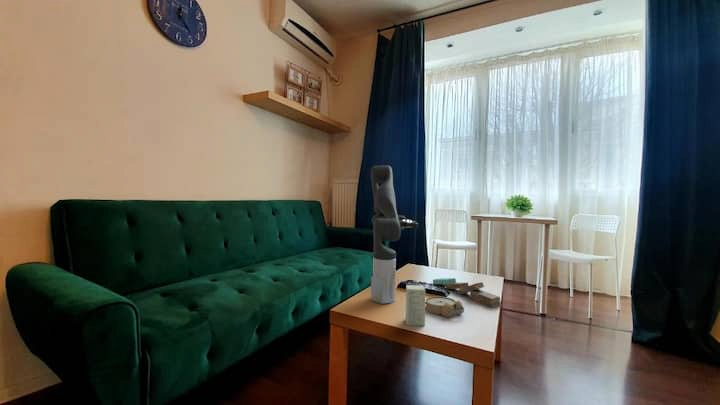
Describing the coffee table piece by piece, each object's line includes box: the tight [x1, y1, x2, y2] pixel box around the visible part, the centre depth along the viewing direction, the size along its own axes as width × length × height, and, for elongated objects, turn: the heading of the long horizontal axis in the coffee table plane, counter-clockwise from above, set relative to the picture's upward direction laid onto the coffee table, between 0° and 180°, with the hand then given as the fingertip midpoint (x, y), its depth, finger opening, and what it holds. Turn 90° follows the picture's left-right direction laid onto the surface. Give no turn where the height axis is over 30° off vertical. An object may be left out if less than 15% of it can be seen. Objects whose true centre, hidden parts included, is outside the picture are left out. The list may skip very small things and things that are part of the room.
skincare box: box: [405, 284, 426, 326], centre depth 95 cm, size 6×4×12 cm
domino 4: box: [470, 296, 501, 309], centre depth 115 cm, size 2×5×10 cm
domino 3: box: [469, 288, 501, 304], centre depth 115 cm, size 2×5×10 cm
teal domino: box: [432, 277, 457, 285], centre depth 134 cm, size 2×5×10 cm
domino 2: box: [457, 281, 485, 295], centre depth 121 cm, size 2×5×10 cm
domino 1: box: [443, 282, 470, 290], centre depth 128 cm, size 2×5×10 cm
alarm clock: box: [425, 296, 465, 318], centre depth 105 cm, size 11×5×15 cm
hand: (417, 225), depth 138 cm, fingers closed
